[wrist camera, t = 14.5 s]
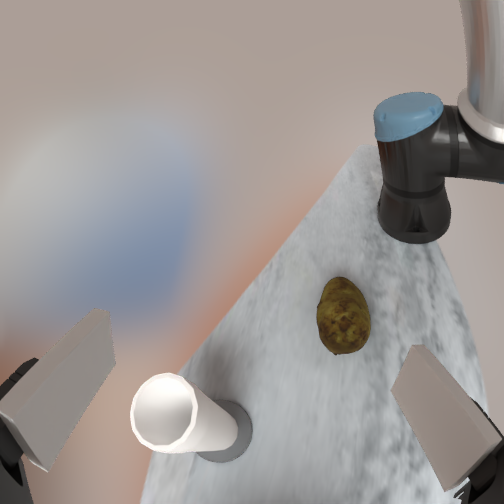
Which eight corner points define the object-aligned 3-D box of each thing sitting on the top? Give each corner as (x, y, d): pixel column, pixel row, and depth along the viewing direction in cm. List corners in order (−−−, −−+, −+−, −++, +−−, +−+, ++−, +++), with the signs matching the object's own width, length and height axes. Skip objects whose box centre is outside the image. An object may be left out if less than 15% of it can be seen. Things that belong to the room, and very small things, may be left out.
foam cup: (195, 400, 38) (140, 370, 30) (251, 402, 35) (203, 373, 27) (187, 455, 32) (124, 441, 23) (245, 464, 29) (190, 459, 20)
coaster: (238, 390, 38) (235, 389, 37) (262, 447, 30) (260, 447, 30) (184, 415, 38) (181, 414, 37) (202, 470, 30) (199, 470, 30)
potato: (380, 291, 40) (379, 258, 35) (364, 369, 33) (362, 347, 28) (331, 287, 44) (322, 255, 39) (308, 360, 37) (295, 337, 32)
